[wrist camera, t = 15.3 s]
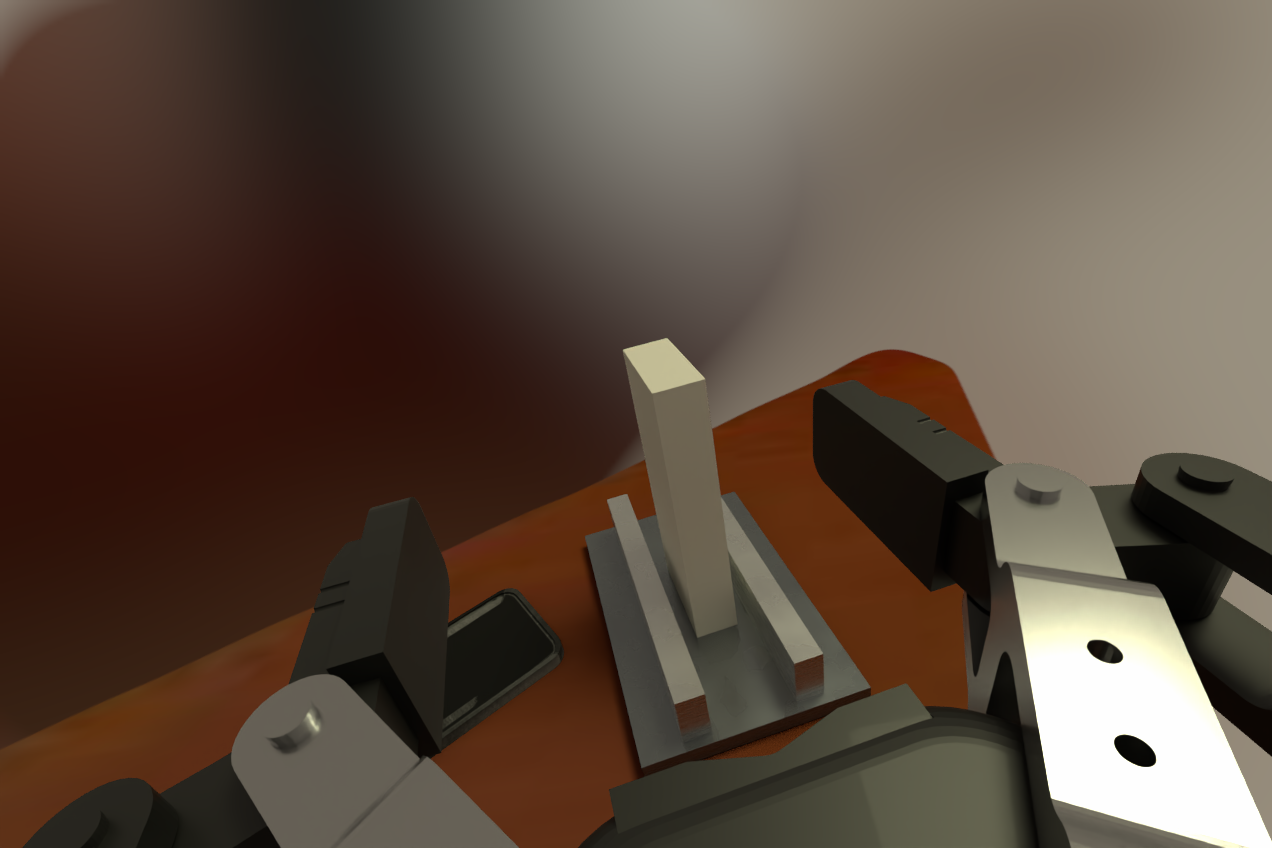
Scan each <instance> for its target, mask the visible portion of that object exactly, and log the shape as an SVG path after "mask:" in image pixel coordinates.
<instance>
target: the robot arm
mask: <svg viewBox="0 0 1272 848" xmlns="http://www.w3.org/2000/svg"><path fill="white" fill-rule="evenodd" d="M813 458H814V463H815V466H816V469H817V472H818V474H819V476H820V477H821V479H822V480H823V482H824V483H825V484H826V485H827V486H828V487H829V488H830V489H831V490H832V491H833V492H834V493H835V494H836V495H837V496H838V497H839V498H840V499H841V500H842V501H843V502H844V503H845V504H846V505H847V506H848V507H849V509H850V510H851V511H852V512H853V513H854V514H855V515H856V516H857V517H858V518H859V519H860V520H861V521H862V522H863V523H864V524H865V525H866V526H867V527H868V528H869V529H870V530H871V531H872V532H873V533H874V534H875V535H876V536H877V537H878V538H879V539H880V540H881V541H882V542H883V543H884V544H885V545H886V546H887V547H888V549H889V550H890V551H891V552H892V553H893V554H894V555H895V556H896V557H897V558H898V559H899V560H900V561H901V562H902V563H903V564H904V565H905V566H906V567H907V568H908V569H909V570H910V571H911V572H912V573H913V574H914V575H915V576H916V577H917V578H918V579H919V580H920V581H921V582H922V583H923V584H924V585H925V586H926V587H927V589H928V590H929V591H930V592H932V591H935V590H938V589H941V588H944V587H947V586H950V585H953V584H956V583H957V584H958V585H959V586H960V587H961V588H962V589H963V590H964V593H963V599H962V615H963V628H964V642H965V655H966V668H967V682H968V710H966V709H960V708H954V707H939V706H923V704H922V703H921V702H920V701H919V699H918V698H917V697H916V695H915V694H914V693H913V691H912V690H911V689H910V688H909V686H908V685H907V684H904V685H901V686H898V687H895V688H892V689H890V690H887V691H884V692H881V693H878V694H875V695H873V696H870V697H867V698H864V699H861V700H859V701H856V702H853V703H850V704H847V705H845V706H842V707H839V708H837V709H836V710H834V711H833V712H831V713H830V714H829V715H827V716H826V717H825V718H823V719H822V720H821V721H819V722H818V723H817V724H815V725H814V726H813V727H811V728H810V729H808V730H807V731H806V732H804V733H803V734H802V735H800V736H799V737H798V738H796V739H795V740H794V741H792V742H791V743H789V744H788V745H787V746H785V747H784V748H783V749H781V750H780V751H778V752H777V753H774V754H772V755H767V756H758V757H745V758H731V759H718V760H705V761H692V762H685V763H682V764H679V765H676V766H674V767H671V768H668V769H665V770H662V771H660V772H657V773H654V774H651V775H648V776H645V777H643V778H640V779H637V780H634V781H631V782H629V783H626V784H623V785H620V786H617V787H615V788H612V789H609V792H610V797H611V802H612V807H613V812H614V817H612V818H611V819H610V820H608V821H607V822H605V823H604V824H603V825H601V826H600V827H599V828H598V829H597V830H596V831H594V832H593V833H592V834H591V835H590V836H589V837H588V838H587V839H586V840H585V841H584V842H583V843H582V844H581V845H580V846H579V847H578V848H1272V842H1271V839H1270V837H1269V835H1268V833H1267V831H1266V828H1265V826H1264V824H1263V821H1262V819H1261V817H1260V814H1259V812H1258V810H1257V808H1256V805H1255V803H1254V801H1253V799H1252V796H1251V794H1250V792H1249V789H1248V787H1247V785H1246V783H1245V780H1244V778H1243V776H1242V774H1241V772H1240V769H1239V767H1238V765H1237V762H1236V760H1235V758H1234V756H1233V754H1232V751H1231V749H1230V746H1229V744H1228V742H1227V740H1226V738H1225V735H1224V733H1223V731H1222V729H1221V726H1220V724H1219V721H1218V719H1217V717H1216V715H1215V712H1214V710H1213V708H1212V707H1214V708H1215V709H1216V710H1217V711H1218V712H1219V713H1221V714H1222V715H1223V716H1224V717H1225V718H1227V719H1228V720H1229V721H1230V722H1231V723H1232V724H1234V725H1235V726H1236V727H1237V728H1239V729H1240V730H1241V731H1242V732H1243V733H1244V734H1245V735H1247V736H1248V737H1249V738H1250V739H1251V740H1253V741H1254V742H1255V743H1256V744H1257V745H1258V746H1260V747H1261V748H1262V749H1263V750H1264V751H1266V752H1267V753H1268V754H1269V755H1270V756H1272V632H1271V631H1270V630H1269V629H1267V628H1266V627H1264V626H1263V625H1261V624H1260V623H1258V622H1257V621H1255V620H1254V619H1252V618H1251V617H1249V616H1248V615H1247V614H1245V613H1244V612H1242V611H1241V610H1239V609H1238V608H1236V607H1235V606H1233V605H1232V604H1230V603H1229V602H1227V601H1226V600H1224V599H1223V598H1221V597H1220V596H1221V594H1222V592H1223V590H1224V588H1225V586H1226V584H1227V582H1228V581H1229V578H1230V577H1231V575H1232V572H1233V571H1235V572H1236V573H1238V574H1240V575H1241V576H1242V577H1244V578H1246V579H1247V580H1249V581H1250V582H1252V583H1254V584H1255V585H1257V586H1258V587H1260V588H1261V589H1263V590H1265V591H1266V592H1268V593H1269V594H1271V595H1272V482H1271V481H1269V480H1267V479H1265V478H1263V477H1261V476H1259V475H1257V474H1255V473H1253V472H1251V471H1249V470H1246V469H1244V468H1242V467H1240V466H1237V465H1235V464H1232V463H1229V462H1227V461H1224V460H1220V459H1217V458H1212V457H1208V456H1203V455H1197V454H1188V453H1166V454H1160V455H1155V456H1153V457H1150V458H1148V459H1147V460H1145V461H1144V462H1143V464H1142V467H1141V469H1140V472H1139V475H1138V477H1137V480H1136V483H1135V484H1128V485H1110V486H1092V487H1089V486H1088V485H1087V484H1085V483H1084V482H1083V481H1082V480H1080V479H1078V478H1077V477H1075V476H1074V475H1071V474H1069V473H1067V472H1065V471H1062V470H1059V469H1057V468H1053V467H1050V466H1045V465H1040V464H1032V463H1013V464H1006V465H1003V464H1002V463H1000V462H998V461H997V460H995V459H994V458H992V457H991V456H989V455H988V454H986V453H985V452H983V451H981V450H980V449H978V448H977V447H975V446H974V445H972V444H971V443H969V442H967V441H966V440H964V439H963V438H961V437H960V436H958V435H957V434H955V433H953V432H952V431H950V430H949V431H947V430H946V427H944V426H943V425H941V424H939V423H938V422H936V421H935V420H930V417H929V416H927V415H926V414H924V413H922V412H921V411H919V410H918V409H916V408H915V407H913V406H912V405H910V404H907V403H904V402H901V401H897V400H894V399H891V398H888V397H885V396H883V397H880V396H879V395H877V394H876V393H874V392H873V391H871V390H870V389H868V388H867V387H865V386H864V385H862V384H861V383H859V382H858V381H855V380H850V381H847V382H843V383H839V384H836V385H832V386H828V387H824V388H821V389H818V390H817V391H816V392H815V394H814V398H813ZM320 590H321V593H320V594H318V598H317V601H316V604H315V606H314V610H315V613H312V615H311V619H310V622H309V625H308V628H307V631H306V634H305V637H304V640H303V643H302V646H301V649H300V652H299V655H298V658H297V661H296V664H295V667H294V670H293V673H292V676H291V679H290V682H289V685H288V686H286V687H284V688H282V689H281V690H279V691H278V692H276V693H275V694H273V695H272V696H271V697H269V698H268V699H267V700H266V701H265V702H264V703H262V704H261V705H260V706H259V707H258V708H257V709H256V710H255V711H254V712H253V714H252V715H251V716H250V717H249V718H248V720H247V721H246V722H245V724H244V725H243V727H242V728H241V730H240V732H239V733H238V735H237V737H236V739H235V742H234V745H233V748H232V752H231V753H230V754H228V755H226V756H225V757H223V758H222V759H220V760H218V761H216V762H215V763H213V764H211V765H209V766H208V767H206V768H204V769H202V770H201V771H199V772H197V773H195V774H194V775H192V776H190V777H188V778H187V779H185V780H183V781H181V782H180V783H178V784H176V785H174V786H173V787H171V788H169V789H167V790H166V791H164V792H162V793H160V794H159V793H158V792H156V791H155V790H154V789H153V788H152V787H151V786H150V785H149V784H148V783H146V782H145V781H144V780H141V779H138V778H126V779H119V780H116V781H113V782H109V783H107V784H104V785H102V786H100V787H97V788H95V789H94V790H92V791H90V792H88V793H86V794H84V795H83V796H81V797H80V798H78V799H76V800H75V801H73V802H72V803H70V804H69V805H68V806H66V807H65V808H64V809H62V810H61V811H60V812H58V813H57V814H56V815H55V816H54V817H53V818H51V819H50V820H49V821H48V822H47V823H46V824H45V825H44V826H42V827H41V828H40V829H39V830H38V831H37V832H36V833H35V834H34V835H33V836H32V838H31V839H30V840H29V841H28V842H27V843H26V844H25V845H24V846H23V848H519V847H518V846H517V845H516V844H515V843H514V842H513V841H512V840H511V839H510V838H509V837H508V836H507V835H506V834H505V833H504V832H503V831H502V830H501V829H500V828H499V827H498V826H497V825H496V824H495V823H494V822H493V821H492V820H491V819H490V818H489V817H488V816H487V815H486V814H485V813H484V812H483V811H482V810H481V809H480V808H479V807H478V806H477V805H476V804H475V803H474V802H473V801H472V800H471V799H470V798H469V797H468V796H467V795H466V794H465V793H464V792H463V791H462V790H461V789H460V788H459V787H458V786H457V785H456V784H455V783H454V782H453V781H452V780H451V779H450V778H449V777H448V776H447V775H446V774H445V773H444V772H443V771H442V770H441V769H440V768H439V767H438V766H437V765H436V764H435V763H434V762H433V761H432V760H431V759H429V758H428V757H430V756H433V755H436V754H439V753H441V748H442V729H443V710H444V691H445V672H446V653H447V634H448V615H449V596H450V586H449V578H448V573H447V568H446V565H445V562H444V559H443V557H442V554H441V552H440V550H439V547H438V545H437V543H436V541H435V538H434V536H433V534H432V532H431V529H430V527H429V525H428V522H427V520H426V518H425V516H424V514H423V512H422V509H421V507H420V505H419V503H418V501H417V500H416V499H415V498H414V497H411V498H407V499H403V500H400V501H396V502H392V503H388V504H385V505H381V506H377V507H373V508H371V509H370V510H369V513H368V516H367V520H366V524H365V527H364V531H363V535H362V539H359V540H356V541H352V542H348V543H346V544H345V545H344V547H343V548H342V549H341V550H340V552H339V553H338V555H336V557H335V558H334V559H333V560H332V562H331V563H330V564H329V565H328V567H327V570H326V573H325V576H324V579H323V582H322V585H321V588H320Z"/></svg>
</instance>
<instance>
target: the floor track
mask: <svg viewBox="0 0 1272 848" xmlns="http://www.w3.org/2000/svg"><path fill="white" fill-rule="evenodd" d="M607 502H608V506H609V510H610V514H611V518H612V522H613V526H614V528H611V529H607V530H604V531H600V532H597V533H594V534H590V535H587V536H585V538H586V542H587V546H588V551H589V555H590V559H591V563H592V567H593V571H594V575H595V579H596V583H597V587H598V591H599V596H600V600H601V604H602V608H603V612H604V616H605V620H606V624H607V628H608V632H609V636H610V641H611V645H612V649H613V653H614V657H615V661H616V665H617V669H618V673H619V677H620V681H621V686H622V690H623V694H624V698H625V702H626V706H627V710H628V714H629V718H630V722H631V726H632V731H633V735H634V739H635V743H636V747H637V751H638V755H639V759H640V763H641V767H642V771H643V774H644V777H645V776H648V775H651V774H654V773H657V772H660V771H662V770H665V769H668V768H671V767H674V766H676V765H679V764H682V763H685V762H692V761H699V760H702V759H705V758H708V757H710V756H713V755H716V754H719V753H722V752H725V751H727V750H730V749H733V748H736V747H739V746H741V745H744V744H747V743H750V742H753V741H756V740H758V739H761V738H764V737H767V736H770V735H773V734H775V733H778V732H781V731H784V730H787V729H790V728H792V727H795V726H798V725H801V724H804V723H807V722H809V721H812V720H815V719H818V718H821V717H823V716H826V715H829V714H830V713H831V712H833V711H834V710H836V709H837V708H839V707H842V706H845V705H847V704H850V703H853V702H856V701H859V700H861V699H864V698H867V697H870V696H871V687H870V686H869V684H868V683H867V681H866V680H865V678H864V677H863V676H862V674H861V673H860V671H859V670H858V668H857V667H856V665H855V664H854V663H853V661H852V660H851V658H850V657H849V655H848V654H847V653H846V651H845V650H844V648H843V647H842V645H841V644H840V643H839V641H838V640H837V638H836V637H835V635H834V634H833V632H832V631H831V630H830V628H829V627H828V625H827V624H826V622H825V621H824V620H823V618H822V617H821V615H820V614H819V612H818V611H817V610H816V608H815V607H814V605H813V604H812V602H811V601H810V599H809V598H808V597H807V595H806V594H805V592H804V591H803V589H802V588H801V587H800V585H799V584H798V582H797V581H796V579H795V578H794V577H793V575H792V574H791V572H790V571H789V569H788V568H787V567H786V565H785V564H784V562H783V561H782V559H781V558H780V556H779V555H778V554H777V552H776V551H775V549H774V548H773V546H772V545H771V544H770V542H769V541H768V539H767V538H766V536H765V535H764V534H763V532H762V531H761V529H760V528H759V526H758V525H757V523H756V522H755V521H754V519H753V518H752V516H751V515H750V513H749V512H748V511H747V509H746V508H745V506H744V505H743V503H742V502H741V501H740V499H739V498H738V496H737V495H736V493H735V492H732V493H729V494H725V495H722V496H721V502H722V510H723V517H724V525H725V533H726V540H727V548H728V555H729V563H730V571H731V578H732V586H733V593H734V601H735V608H736V616H737V625H734V626H731V627H728V628H725V629H722V630H719V631H716V632H713V633H710V634H707V635H704V636H701V637H698V638H697V636H696V634H695V631H694V629H693V627H692V624H691V622H690V620H689V617H688V615H687V613H686V610H685V608H684V606H683V603H682V601H681V599H680V597H679V594H678V592H677V590H676V587H675V585H674V583H673V580H672V578H671V576H670V573H669V571H668V568H667V563H666V558H665V553H664V549H663V544H662V539H661V534H660V529H659V524H658V519H657V515H654V516H651V517H648V518H644V519H641V520H638V521H637V519H636V516H635V514H634V511H633V509H632V506H631V503H630V501H629V498H628V496H627V494H625V495H622V496H618V497H615V498H611V499H608V500H607Z"/></svg>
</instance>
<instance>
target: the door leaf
mask: <svg viewBox="0 0 1272 848" xmlns="http://www.w3.org/2000/svg"><path fill="white" fill-rule="evenodd" d="M623 353H624V357H625V363H626V368H627V372H628V377H629V382H630V387H631V392H632V397H633V402H634V406H635V412H636V417H637V421H638V426H639V431H640V436H641V441H642V446H643V450H644V456H645V461H646V465H647V470H648V475H649V480H650V485H651V490H652V495H653V500H654V505H655V509H656V514H657V519H658V524H659V529H660V534H661V539H662V544H663V549H664V553H665V558H666V563H667V568H668V571H669V573H670V576H671V578H672V580H673V583H674V585H675V587H676V590H677V592H678V594H679V597H680V599H681V601H682V603H683V606H684V608H685V610H686V613H687V615H688V617H689V620H690V622H691V624H692V627H693V629H694V631H695V634H696V636H697V638H698V637H701V636H704V635H707V634H710V633H713V632H716V631H719V630H722V629H725V628H728V627H731V626H734V625H737V616H736V608H735V601H734V593H733V586H732V578H731V571H730V563H729V555H728V548H727V540H726V533H725V525H724V517H723V510H722V502H721V495H720V487H719V480H718V472H717V464H716V457H715V449H714V442H713V434H712V427H711V420H710V411H709V404H708V396H707V389H706V381H705V378H704V377H703V376H702V375H701V374H700V373H699V372H698V371H697V370H696V369H695V368H694V366H693V365H692V364H691V363H690V362H689V361H688V360H687V359H686V358H685V357H684V356H683V355H682V354H681V353H680V351H679V350H678V349H677V348H676V347H675V346H674V345H673V344H672V343H671V342H670V341H669V340H668V339H667V338H666V339H662V340H658V341H654V342H651V343H647V344H643V345H639V346H635V347H632V348H628V349H624V350H623Z"/></svg>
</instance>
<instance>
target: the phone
mask: <svg viewBox="0 0 1272 848" xmlns="http://www.w3.org/2000/svg"><path fill="white" fill-rule="evenodd" d="M563 655H564V649H563V647H562V644H561V641H560V639H559V637H558V636H557V635H556V634H555V633H554V631H553V630H552V629H551V628H550V627H549V626H548V624H547V623H546V622H545V621H544V620H543V618H542V617H541V616H540V615H539V614H538V613H537V611H536V610H535V609H534V608H533V607H532V606H531V604H530V603H529V602H528V601H527V600H526V599H525V597H524V596H523V595H522V594H521V593H520V592H519V591H518V590H517V589H513V588H509V589H504V590H501V591H499V592H497V593H496V594H494V595H493V596H491V597H489V598H488V599H486V600H484V601H483V602H481V603H480V604H478V605H476V606H475V607H473V608H472V609H470V610H468V611H467V612H465V613H463V614H462V615H460V616H459V617H457V618H455V619H454V620H452V621H451V622H449V623H448V634H447V653H446V672H445V691H444V710H443V729H442V748H441V751H442V750H443V749H444V748H446V747H447V746H448V745H450V744H451V743H453V742H454V741H455V740H457V739H458V738H459V737H461V736H462V735H464V734H465V733H466V732H468V731H469V730H470V729H472V728H473V727H475V726H476V725H477V724H479V723H480V722H481V721H483V720H484V719H486V718H487V717H488V716H490V715H491V714H492V713H494V712H495V711H497V710H498V709H499V708H501V707H502V706H503V705H505V704H506V703H508V702H509V701H510V700H512V699H513V698H514V697H516V696H517V695H519V694H520V693H521V692H523V691H524V690H526V689H527V688H528V687H530V686H531V685H532V684H534V683H535V682H537V681H538V680H539V679H541V678H542V677H543V676H545V675H546V674H548V673H549V672H550V671H552V670H553V669H554V668H556V667H557V666H558V665H559V664H560V662H561V661H562V659H563ZM433 756H435V755H433ZM433 756H430V757H428V758H429V759H431V758H432V757H433Z"/></svg>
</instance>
